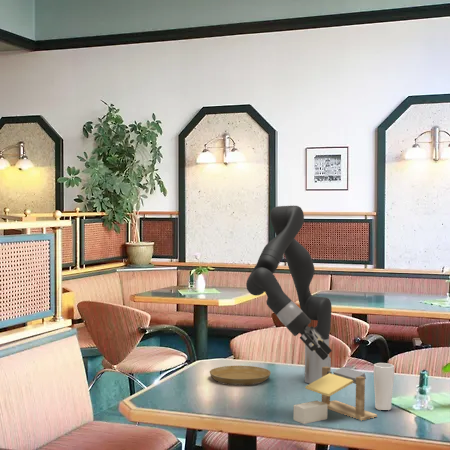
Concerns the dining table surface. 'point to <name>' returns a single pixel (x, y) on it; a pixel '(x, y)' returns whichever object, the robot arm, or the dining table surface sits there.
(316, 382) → the trapdoor
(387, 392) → the drinking glass
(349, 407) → the frame
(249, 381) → the plant saucer
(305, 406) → the white square pillar
